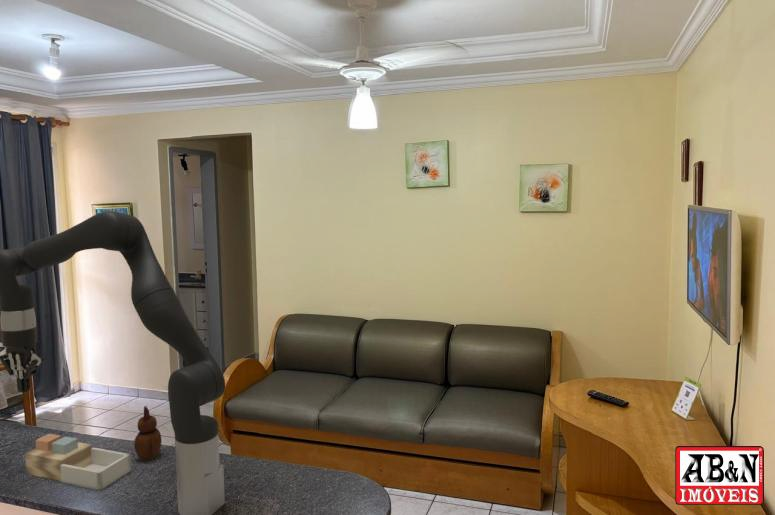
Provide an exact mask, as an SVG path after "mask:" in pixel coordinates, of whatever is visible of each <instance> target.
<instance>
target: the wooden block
mask: <svg viewBox="0 0 775 515" xmlns="http://www.w3.org/2000/svg"><path fill="white" fill-rule="evenodd" d="M91 448H93V447H92V444H90V443H83V442H80V441H78V448H77V449H75V450H73V451H71V452H69V453H67V454H66V455H63V454H58V453H53V451H52V450H50V451H48V452H47V451H42V450H37V449H36V447H35V448H34V449H31V450H28V451H27V452H25V453H24V454H25V455H24V456H25V459H24V461H25V471H26V475H31V476H35V477H40V478H43V477H44V479H49V480H54V481H57V482H58V481H59V482H61V469H60V465H62V464H66V465H72V466H77V467H82V468H84V467H86V466H88V465H90V464H91V463H92V459H91Z"/></svg>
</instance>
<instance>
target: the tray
mask: <svg viewBox="0 0 775 515" xmlns="http://www.w3.org/2000/svg"><path fill="white" fill-rule="evenodd" d="M91 459H92V463H91V464H90V465H88V466H86V467H84V468H82V467H77V466H72V465H66V464H62V465H60V469H61V481H60V482H61V483H62V484H66V485H71V486H76V487H80V488H85V489H89V490H93V491H98V492H101V491H103V490H104V489H106V488H107V487H108V486H110V485H112V484H113V483H115V482H116V481H117V480H120V479H121V478H122V476H123V477H124V476H125V475H128V474H129V473H130V472H132V458H131V454H130V453H125V452H120V451H115V450H110V449H105V448H98V447H92V448H91Z"/></svg>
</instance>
